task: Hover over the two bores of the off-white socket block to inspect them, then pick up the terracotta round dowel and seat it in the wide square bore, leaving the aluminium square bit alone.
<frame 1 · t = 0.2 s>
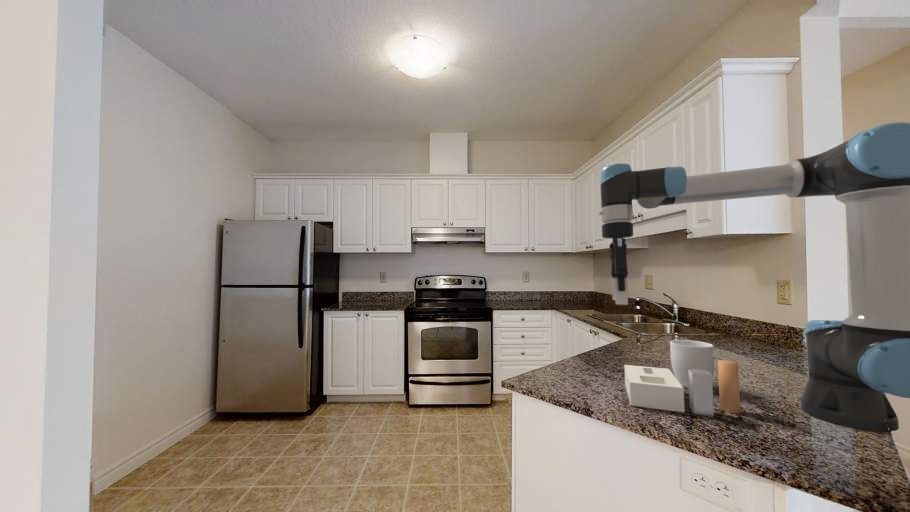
hand: (619, 302, 88), 27 cm above the worktop, fingers open, 13 cm apart
mug: (697, 387, 101), on the worktop
dowel: (730, 410, 84), on the worktop
square bit: (701, 411, 83), on the worktop
socket block: (651, 396, 94), on the worktop
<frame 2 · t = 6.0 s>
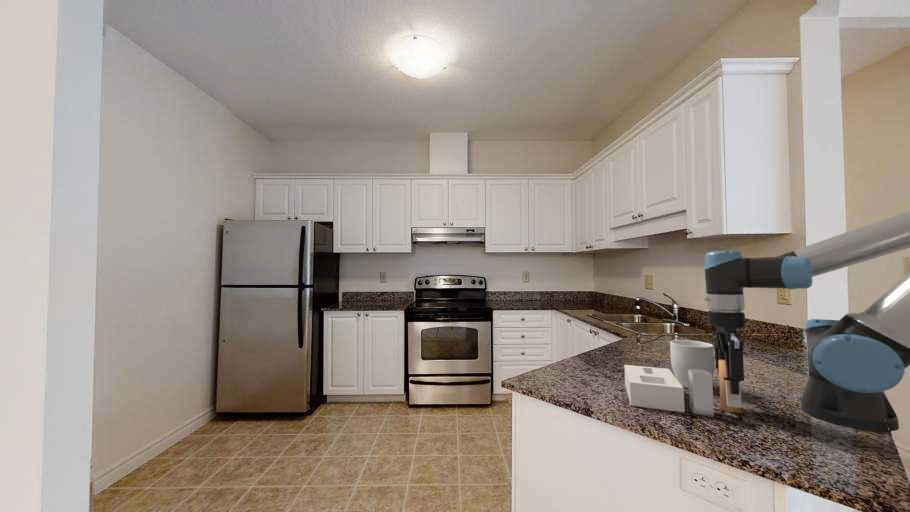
hand: (730, 402, 84), 2 cm above the worktop, fingers closed on dowel, 4 cm apart
dowel: (731, 409, 84), on the worktop, touching gripper
everything else where it was.
when the fingers open (7 cm above the worktop, at t = 10.0 s): dowel stays where it is, resting on socket block.
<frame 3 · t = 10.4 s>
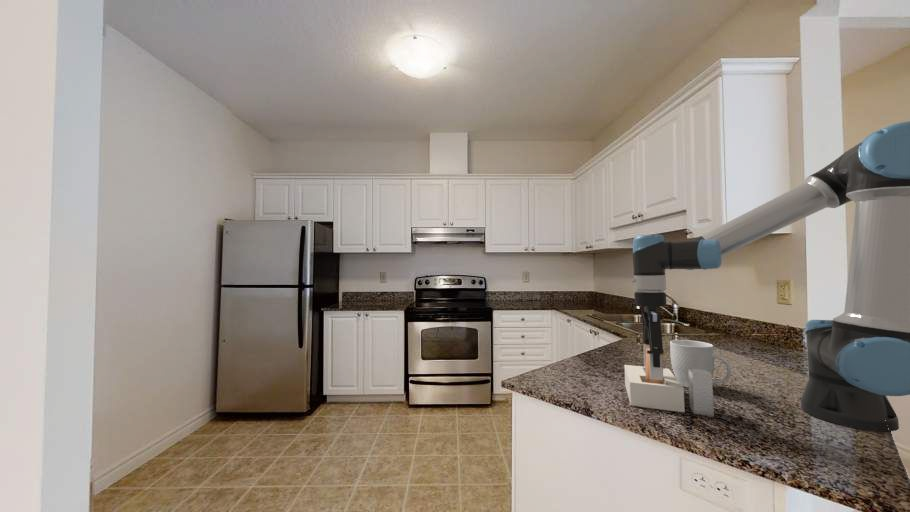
hand: (652, 373, 90), 8 cm above the worktop, fingers open, 10 cm apart
dowel: (653, 394, 90), point 2 cm above the worktop, touching socket block
everything else where it was.
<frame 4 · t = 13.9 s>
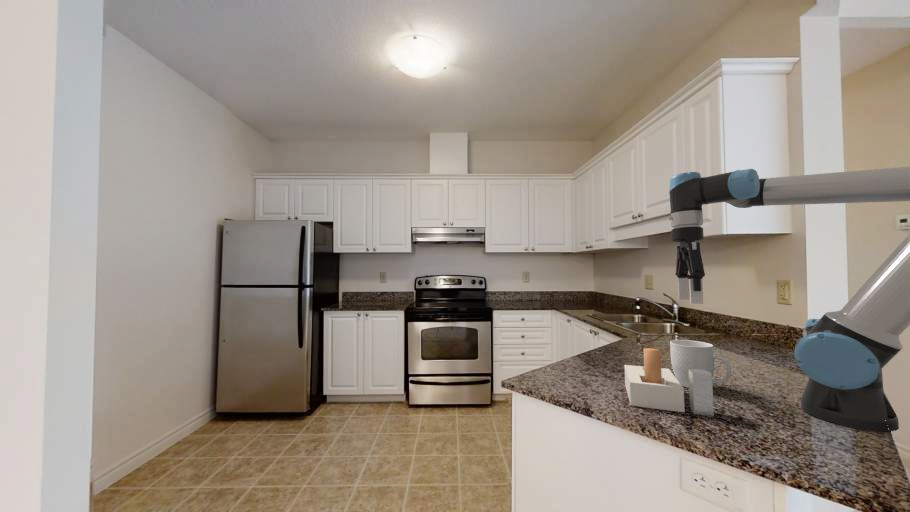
hand: (690, 301, 94), 27 cm above the worktop, fingers open, 13 cm apart
nothing on the worktop moved.
at the end: dowel 0.0 cm from the target spot on the socket block, point 2.0 cm above the socket block's base; dowel tilted 1°; the gripper is holding nothing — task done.
